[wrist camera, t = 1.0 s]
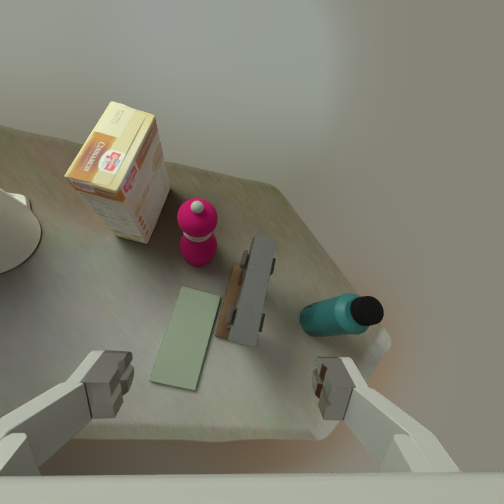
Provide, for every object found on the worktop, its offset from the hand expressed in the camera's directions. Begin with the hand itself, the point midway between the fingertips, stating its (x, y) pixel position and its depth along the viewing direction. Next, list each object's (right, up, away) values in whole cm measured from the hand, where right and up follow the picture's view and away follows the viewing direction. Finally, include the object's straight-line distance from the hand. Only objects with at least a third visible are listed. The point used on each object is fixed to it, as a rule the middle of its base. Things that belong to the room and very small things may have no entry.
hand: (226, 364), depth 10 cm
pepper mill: (-10, +5, +40) cm, 42 cm away
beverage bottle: (+14, -10, +40) cm, 43 cm away
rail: (+1, -1, +26) cm, 26 cm away
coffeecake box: (-23, +14, +41) cm, 49 cm away
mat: (-11, -11, +34) cm, 37 cm away
